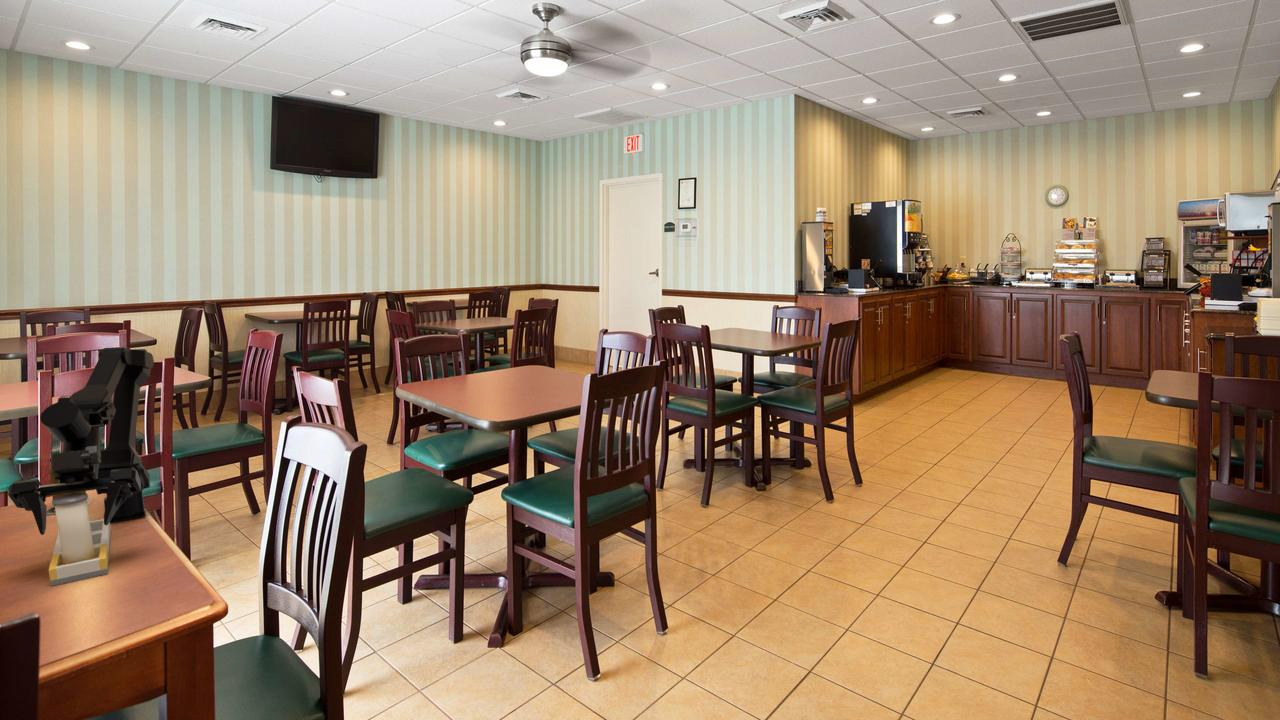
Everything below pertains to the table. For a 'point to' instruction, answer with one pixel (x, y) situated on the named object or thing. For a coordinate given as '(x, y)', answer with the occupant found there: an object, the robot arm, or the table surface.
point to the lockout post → (74, 527)
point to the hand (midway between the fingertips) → (74, 529)
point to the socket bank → (84, 568)
